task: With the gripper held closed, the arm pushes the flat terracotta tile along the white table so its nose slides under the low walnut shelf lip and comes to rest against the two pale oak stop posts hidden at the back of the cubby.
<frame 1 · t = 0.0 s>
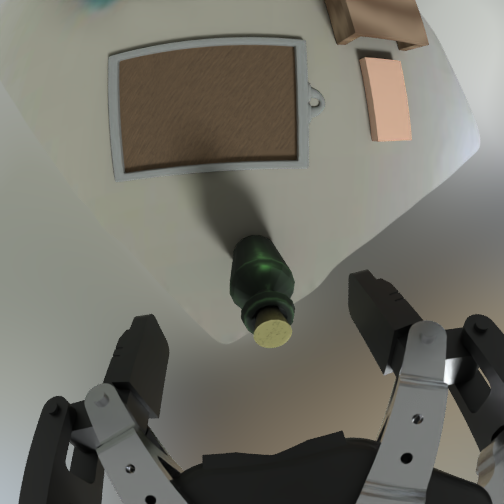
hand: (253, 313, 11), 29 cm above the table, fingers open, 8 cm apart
potion bottle: (254, 253, 42), on the table
cubby: (368, 25, 27), on the table
grey framed board: (216, 103, 33), on the table
tile: (382, 99, 34), on the table
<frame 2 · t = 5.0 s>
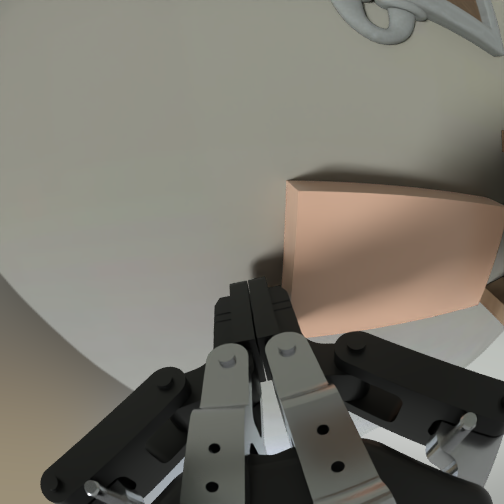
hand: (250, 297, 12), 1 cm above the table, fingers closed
tile: (400, 245, 13), on the table, touching gripper
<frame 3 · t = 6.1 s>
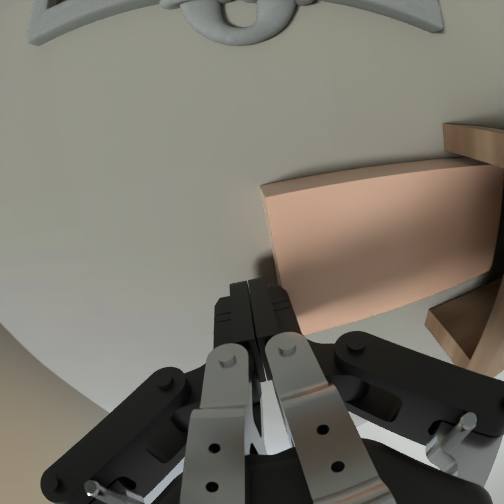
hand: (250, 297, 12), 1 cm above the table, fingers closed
cubby: (481, 228, 13), on the table
tile: (395, 224, 13), on the table, touching gripper
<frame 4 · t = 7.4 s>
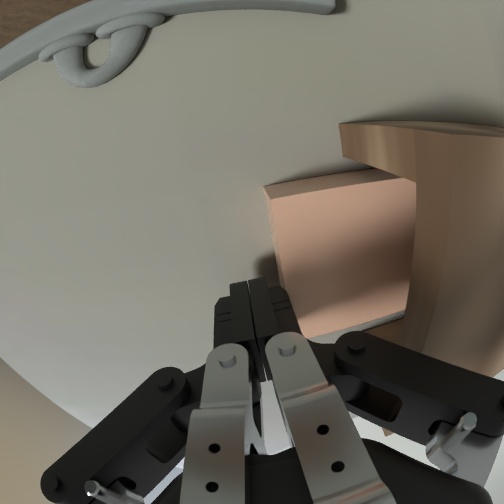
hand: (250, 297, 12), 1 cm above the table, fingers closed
cubby: (415, 245, 13), on the table
tile: (397, 227, 12), on the table, touching gripper
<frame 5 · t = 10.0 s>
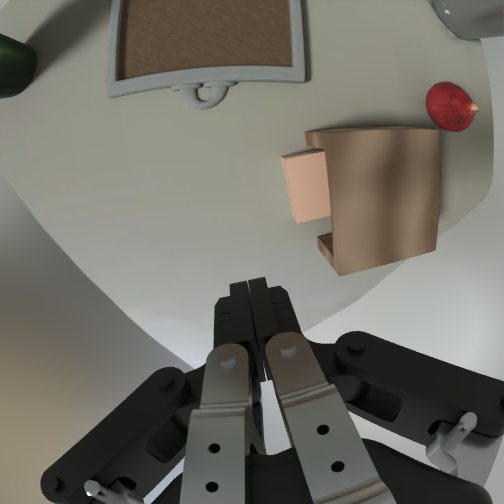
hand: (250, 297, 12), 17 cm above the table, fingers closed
potion bottle: (20, 71, 17), on the table
onion: (428, 106, 24), on the table
cubby: (347, 187, 28), on the table
tile: (343, 175, 28), on the table
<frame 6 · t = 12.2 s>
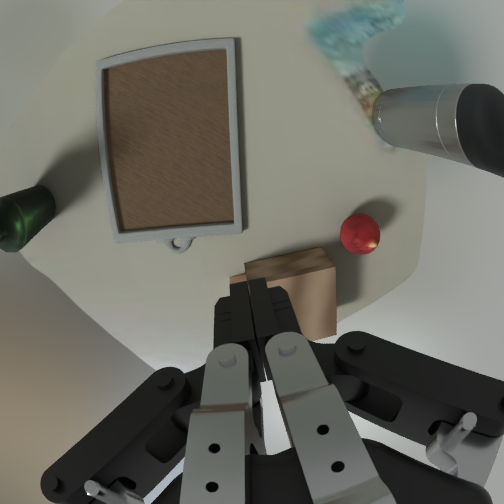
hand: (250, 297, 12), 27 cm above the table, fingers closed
potion bottle: (42, 204, 34), on the table
onion: (349, 224, 41), on the table
cubby: (276, 292, 44), on the table
grey framed board: (167, 149, 34), on the table
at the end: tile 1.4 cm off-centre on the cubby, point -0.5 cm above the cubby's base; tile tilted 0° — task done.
